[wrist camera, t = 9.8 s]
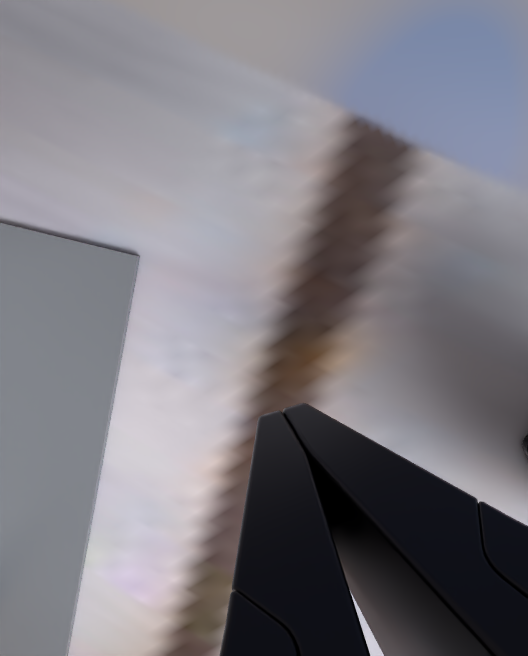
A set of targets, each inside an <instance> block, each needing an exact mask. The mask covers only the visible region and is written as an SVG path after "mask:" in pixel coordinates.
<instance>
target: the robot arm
mask: <svg viewBox="0 0 528 656" xmlns="http://www.w3.org/2000/svg"><path fill="white" fill-rule="evenodd" d="M522 445H523V449H524V452H525V454H526V456H527V458H528V436H526V437H525V439H524V440H523V444H522ZM349 589H350V590H349ZM232 590H233V592H232V593H231V594H230V600H229V606H228V613H227V619H226V625H225V630H224V635H223V641H222V646H221V651H220V656H370V653H369V650H368V647H367V644H366V640H365V637H364V634H363V631H362V628H361V625H360V621H359V618H358V615H357V612H356V609H355V606H354V602H353V599H352V596H351V593H352V595H353V597H354V599H355V601H356V602H357V604H358V606H359V608H360V610H361V612H362V614H363V616H364V618H365V620H366V622H367V624H368V625H369V627H370V629H371V631H372V633H373V635H374V637H375V639H376V641H377V643H378V645H379V646H380V648H381V650H382V652H383V654H384V656H528V526H527V525H525V524H523V523H521V522H519V521H517V520H515V519H513V518H512V517H510V516H508V515H506V514H504V513H502V512H501V511H499V510H497V509H495V508H493V507H492V506H490V505H488V504H486V503H484V502H479V503H478V501H477V499H476V498H475V497H473V496H471V495H470V494H468V493H466V492H464V491H462V490H461V489H459V488H457V487H455V486H453V485H452V484H450V483H448V482H446V481H444V480H443V479H441V478H439V477H437V476H435V475H434V474H432V473H430V472H428V471H427V470H425V469H423V468H421V467H419V466H418V465H416V464H414V463H412V462H410V461H409V460H407V459H405V458H403V457H401V456H400V455H398V454H396V453H394V452H392V451H391V450H389V449H387V448H385V447H383V446H382V445H380V444H378V443H376V442H374V441H373V440H371V439H369V438H367V437H365V436H364V435H362V434H360V433H358V432H356V431H355V430H353V429H351V428H349V427H348V426H346V425H344V424H342V423H340V422H339V421H337V420H335V419H333V418H331V417H330V416H328V415H326V414H324V413H322V412H321V411H319V410H317V409H315V408H313V407H312V406H310V405H308V404H306V403H301V404H298V405H294V406H291V407H288V408H285V409H284V410H283V413H282V412H281V411H275V412H272V413H268V414H265V415H262V416H260V417H259V419H258V423H257V430H256V436H255V443H254V449H253V455H252V462H251V468H250V474H249V481H248V487H247V494H246V500H245V506H244V513H243V519H242V526H241V532H240V538H239V545H238V551H237V558H236V564H235V570H234V577H233V583H232ZM350 591H351V593H350Z"/></svg>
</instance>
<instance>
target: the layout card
mask: <svg viewBox="0 0 528 656" xmlns="http://www.w3.org/2000/svg"><path fill="white" fill-rule="evenodd" d="M139 258H140V256H136V255H132V254H128V253H124V252H120V251H116V250H112V249H107V248H103V247H99V246H95V245H91V244H87V243H83V242H79V241H75V240H70V239H66V238H62V237H58V236H54V235H50V234H46V233H42V232H38V231H34V230H29V229H25V228H21V227H17V226H13V225H9V224H5V223H1V222H0V656H68V651H69V645H70V639H71V634H72V628H73V623H74V617H75V612H76V606H77V601H78V595H79V590H80V584H81V579H82V573H83V568H84V562H85V556H86V551H87V545H88V540H89V534H90V529H91V523H92V518H93V512H94V507H95V501H96V496H97V490H98V485H99V479H100V474H101V468H102V462H103V457H104V451H105V446H106V440H107V435H108V429H109V424H110V418H111V413H112V407H113V402H114V396H115V391H116V385H117V380H118V374H119V368H120V363H121V357H122V352H123V346H124V341H125V335H126V330H127V324H128V319H129V313H130V308H131V302H132V297H133V291H134V286H135V280H136V274H137V269H138V263H139Z"/></svg>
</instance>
